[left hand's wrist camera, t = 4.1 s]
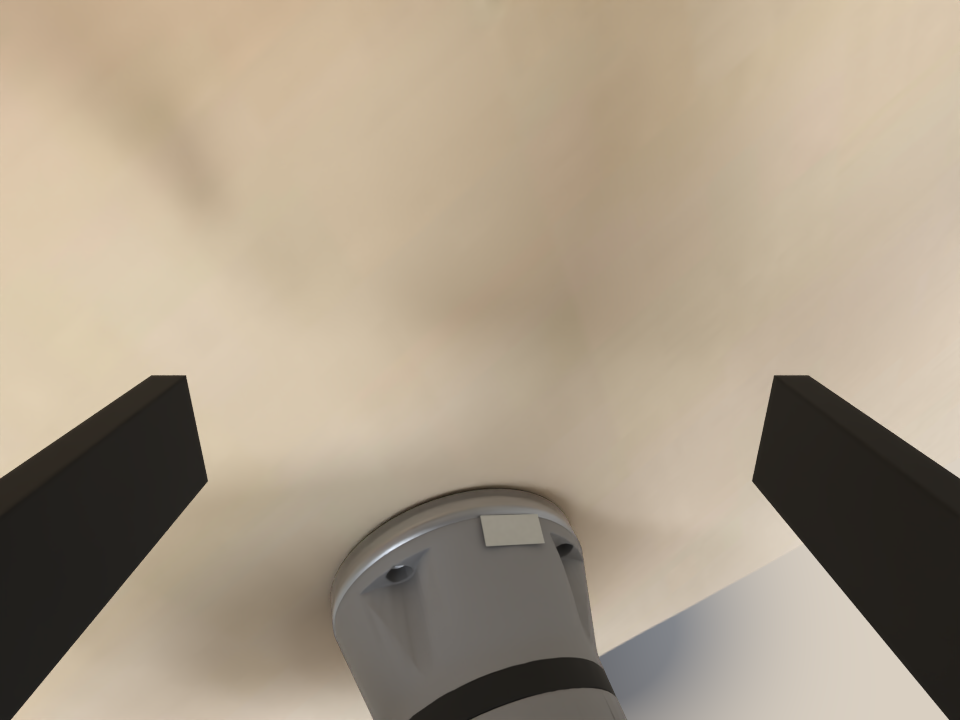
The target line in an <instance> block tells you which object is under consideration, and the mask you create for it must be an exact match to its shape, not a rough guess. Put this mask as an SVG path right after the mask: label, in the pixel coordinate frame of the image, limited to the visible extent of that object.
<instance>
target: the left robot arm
mask: <svg viewBox="0 0 960 720" xmlns="http://www.w3.org/2000/svg"><path fill="white" fill-rule="evenodd" d="M207 482H208V479H207V474H206V470H205V465H204V460H203V455H202V450H201V446H200V441H199V436H198V431H197V427H196V422H195V417H194V412H193V407H192V403H191V398H190V393H189V388H188V383H187V379H186V375H151V376H150V377H149V378H147V379H146V380H144V381H143V382H141V383H140V384H138V385H137V386H135V387H134V388H132V389H131V390H129V391H128V392H127V393H125V394H124V395H122V396H121V397H119V398H118V399H116V400H115V401H113V402H112V403H110V404H109V405H107V406H106V407H105V408H103V409H102V410H100V411H99V412H97V413H96V414H94V415H93V416H91V417H90V418H88V419H87V420H85V421H84V422H83V423H81V424H80V425H78V426H77V427H75V428H74V429H72V430H71V431H69V432H68V433H66V434H65V435H63V436H62V437H61V438H59V439H58V440H56V441H55V442H53V443H52V444H50V445H49V446H47V447H46V448H44V449H43V450H41V451H40V452H39V453H37V454H36V455H34V456H33V457H31V458H30V459H28V460H27V461H25V462H24V463H22V464H21V465H19V466H18V467H17V468H15V469H14V470H12V471H11V472H9V473H8V474H6V475H5V476H3V477H2V478H0V720H11V719H12V718H13V717H14V715H15V714H16V713H17V712H18V710H19V709H20V708H21V707H22V706H23V704H24V703H25V702H26V701H27V700H28V698H29V697H30V696H31V695H32V694H33V692H34V691H35V690H36V689H37V687H38V686H39V685H40V684H41V683H42V681H43V680H44V679H45V678H46V677H47V675H48V674H49V673H50V672H51V671H52V669H53V668H54V667H55V666H56V664H57V663H58V662H59V661H60V660H61V658H62V657H63V656H64V655H65V654H66V652H67V651H68V650H69V649H70V647H71V646H72V645H73V644H74V643H75V641H76V640H77V639H78V638H79V637H80V635H81V634H82V633H83V632H84V631H85V629H86V628H87V627H88V626H89V624H90V623H91V622H92V621H93V620H94V618H95V617H96V616H97V615H98V614H99V612H100V611H101V610H102V609H103V608H104V606H105V605H106V604H107V603H108V601H109V600H110V599H111V598H112V597H113V595H114V594H115V593H116V592H117V591H118V589H119V588H120V587H121V586H122V585H123V583H124V582H125V581H126V580H127V578H128V577H129V576H130V575H131V574H132V572H133V571H134V570H135V569H136V568H137V566H138V565H139V564H140V563H141V562H142V560H143V559H144V558H145V557H146V555H147V554H148V553H149V552H150V551H151V549H152V548H153V547H154V546H155V545H156V543H157V542H158V541H159V540H160V538H161V537H162V536H163V535H164V534H165V532H166V531H167V530H168V529H169V528H170V526H171V525H172V524H173V523H174V522H175V520H176V519H177V518H178V517H179V515H180V514H181V513H182V512H183V511H184V509H185V508H186V507H187V506H188V505H189V503H190V502H191V501H192V500H193V499H194V497H195V496H196V495H197V494H198V492H199V491H200V490H201V489H202V488H203V486H204V485H205V484H206V483H207ZM752 482H753V483H754V484H755V485H756V486H757V488H758V489H759V490H760V491H761V492H762V494H763V495H764V496H765V497H766V499H767V500H768V501H769V502H770V503H771V505H772V506H773V507H774V508H775V509H776V511H777V512H778V513H779V514H780V515H781V517H782V518H783V519H784V520H785V522H786V523H787V524H788V525H789V526H790V528H791V529H792V530H793V531H794V532H795V534H796V535H797V536H798V537H799V538H800V540H801V541H802V542H803V543H804V545H805V546H806V547H807V548H808V549H809V551H810V552H811V553H812V554H813V555H814V557H815V558H816V559H817V560H818V562H819V563H820V564H821V565H822V566H823V568H824V569H825V570H826V571H827V572H828V574H829V575H830V576H831V577H832V578H833V580H834V581H835V582H836V583H837V584H838V586H839V587H840V588H841V589H842V591H843V592H844V593H845V594H846V595H847V597H848V598H849V599H850V600H851V601H852V603H853V604H854V605H855V606H856V608H857V609H858V610H859V611H860V612H861V614H862V615H863V616H864V617H865V618H866V620H867V621H868V622H869V623H870V624H871V626H872V627H873V628H874V629H875V630H876V632H877V633H878V634H879V635H880V637H881V638H882V639H883V640H884V641H885V643H886V644H887V645H888V646H889V647H890V649H891V650H892V651H893V652H894V654H895V655H896V656H897V657H898V658H899V660H900V661H901V662H902V663H903V664H904V666H905V667H906V668H907V669H908V671H909V672H910V673H911V674H912V675H913V677H914V678H915V679H916V680H917V681H918V683H919V684H920V685H921V686H922V687H923V689H924V690H925V691H926V692H927V694H928V695H929V696H930V697H931V698H932V700H933V701H934V702H935V703H936V704H937V706H938V707H939V708H940V709H941V710H942V712H943V713H944V714H945V715H946V716H947V718H948V719H949V720H960V478H958V477H957V476H955V475H954V474H952V473H951V472H949V471H948V470H946V469H945V468H943V467H942V466H941V465H939V464H938V463H936V462H935V461H933V460H932V459H930V458H929V457H927V456H926V455H924V454H923V453H921V452H920V451H919V450H917V449H916V448H914V447H913V446H911V445H910V444H908V443H907V442H905V441H904V440H902V439H901V438H899V437H898V436H897V435H895V434H894V433H892V432H891V431H889V430H888V429H886V428H885V427H883V426H882V425H880V424H879V423H877V422H876V421H875V420H873V419H872V418H870V417H869V416H867V415H866V414H864V413H863V412H861V411H860V410H858V409H857V408H855V407H854V406H853V405H851V404H850V403H848V402H847V401H845V400H844V399H842V398H841V397H839V396H838V395H836V394H835V393H833V392H832V391H831V390H829V389H828V388H826V387H825V386H823V385H822V384H820V383H819V382H817V381H816V380H814V379H813V378H811V377H810V376H809V375H774V379H773V383H772V388H771V393H770V398H769V403H768V407H767V412H766V417H765V422H764V427H763V431H762V436H761V441H760V446H759V450H758V455H757V460H756V465H755V470H754V474H753V479H752ZM331 610H332V621H333V630H334V635H335V638H336V641H337V642H338V645H339V647H340V649H341V651H342V654H343V656H344V658H345V660H346V662H347V664H348V666H349V668H350V671H351V673H352V675H353V677H354V679H355V681H356V683H357V686H358V688H359V690H360V692H361V694H362V696H363V698H364V701H365V703H366V705H367V707H368V709H369V711H370V713H371V716H372V718H373V720H627V719H626V717H625V714H624V712H623V710H622V708H621V706H620V704H619V702H618V699H617V698H616V696H615V693H614V691H613V689H612V687H611V684H610V682H609V680H608V678H607V676H606V673H605V671H604V669H603V666H602V664H601V662H600V659H599V657H598V653H597V649H596V643H595V636H594V629H593V622H592V616H591V609H590V602H589V595H588V588H587V581H586V574H585V567H584V561H583V555H582V549H581V546H580V543H579V541H578V539H577V537H576V535H575V533H574V531H573V529H572V527H571V525H570V523H569V521H568V519H567V518H566V516H565V514H564V513H563V512H562V510H561V509H560V508H559V507H558V506H556V505H555V504H554V503H553V502H551V501H549V500H548V499H546V498H544V497H541V496H539V495H536V494H533V493H530V492H525V491H520V490H512V489H482V490H474V491H468V492H462V493H457V494H453V495H449V496H445V497H442V498H439V499H436V500H433V501H430V502H427V503H424V504H422V505H419V506H417V507H415V508H412V509H410V510H408V511H406V512H404V513H402V514H400V515H398V516H397V517H395V518H393V519H391V520H390V521H388V522H386V523H385V524H383V525H382V526H380V527H379V528H377V529H376V530H375V531H373V532H372V533H371V534H369V535H368V536H367V537H366V538H365V539H364V540H362V541H361V542H360V543H359V544H358V545H357V546H356V547H355V548H354V549H353V550H352V551H351V552H350V554H349V555H348V556H347V557H346V559H345V560H344V561H343V563H342V564H341V566H340V568H339V569H338V571H337V573H336V575H335V578H334V581H333V584H332V588H331Z"/></svg>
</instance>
